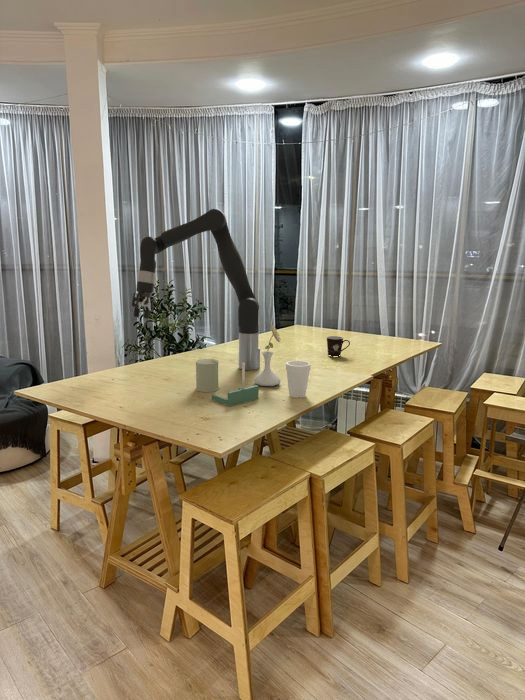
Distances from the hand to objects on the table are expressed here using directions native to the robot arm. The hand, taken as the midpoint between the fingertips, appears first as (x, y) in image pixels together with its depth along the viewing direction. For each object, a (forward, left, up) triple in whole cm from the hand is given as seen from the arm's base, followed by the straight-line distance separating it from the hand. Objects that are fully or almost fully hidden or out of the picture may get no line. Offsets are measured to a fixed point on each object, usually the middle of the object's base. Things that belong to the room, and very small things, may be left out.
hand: (141, 317), depth 225 cm
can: (-11, +42, -24) cm, 50 cm away
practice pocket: (-14, +59, -24) cm, 66 cm away
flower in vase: (-37, +49, -24) cm, 66 cm away
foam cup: (-38, +68, -24) cm, 81 cm away
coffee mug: (-97, +25, -24) cm, 103 cm away
